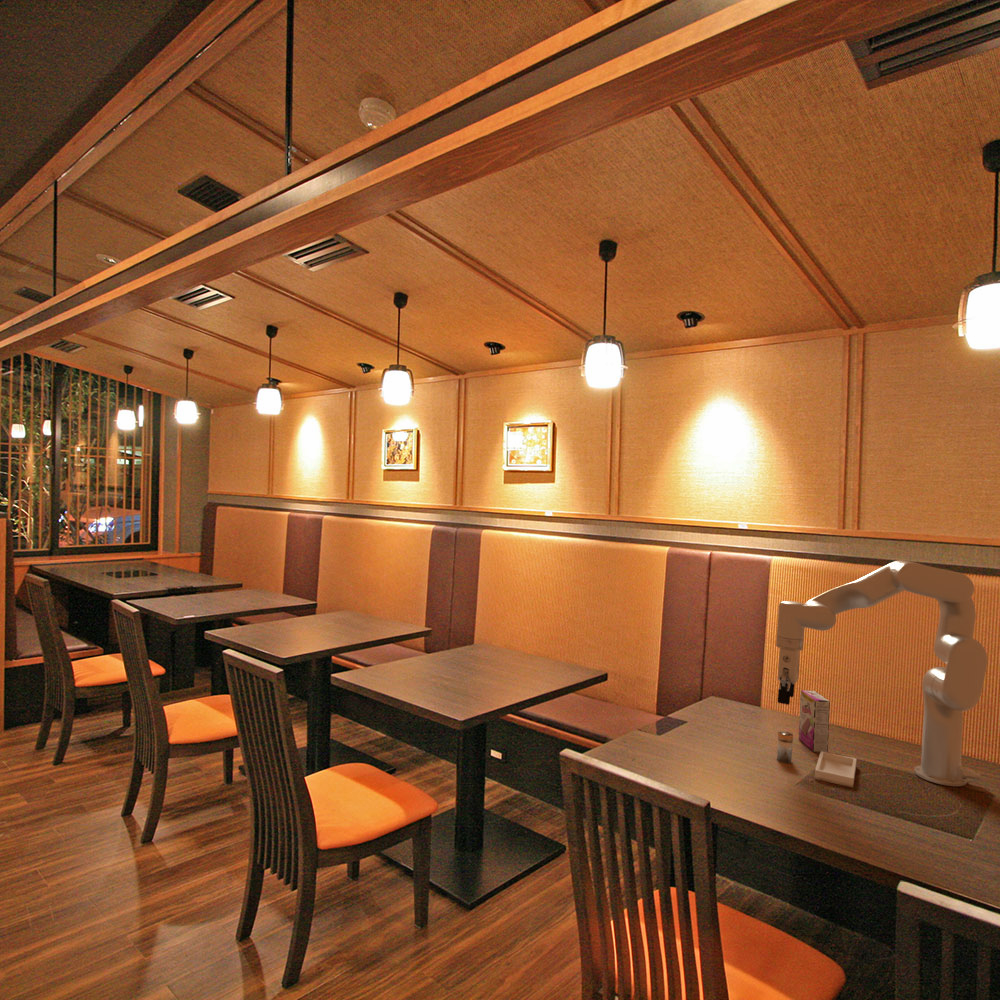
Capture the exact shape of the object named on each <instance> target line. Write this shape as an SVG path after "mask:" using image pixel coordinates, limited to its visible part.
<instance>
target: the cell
mask: <svg viewBox="0 0 1000 1000" xmlns="http://www.w3.org/2000/svg"><path fill="white" fill-rule="evenodd" d="M793 741H794V734H793V733H792V732H788V731H782V730H781V731H778V733H777V753H776V754H777V755H776V760H777V761H779V762H781V763H786V764H790V763H792V759H793Z"/></svg>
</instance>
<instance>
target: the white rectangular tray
mask: <svg viewBox="0 0 1000 1000" xmlns="http://www.w3.org/2000/svg"><path fill="white" fill-rule="evenodd" d="M856 770H857V758H855V757H851V756H847V755H841V754H836V753H833V752H832V753H831V752H829V751H828V752H823V751H821V752H819V756H818V759H817V762H816V766H815V769H814V779H815V780H818V781H823V782H826V783H827V782H828V783H831V784H835V785H840V786H844V787H849V788H854V784H855V777H856Z"/></svg>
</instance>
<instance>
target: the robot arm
mask: <svg viewBox="0 0 1000 1000" xmlns="http://www.w3.org/2000/svg"><path fill="white" fill-rule="evenodd" d="M905 591H906V592H909V593H912V594H915V595H919V596H923V597H927V598H930V599H931V598H932V599H936V601H937V603H938V606H939V618H938V619H939V621H938V626H937V631H936V634H935V639H934V643H933V644H934V645H933V652H934V655H935V656H936V658H937V659H939V661H941V662H943V663H945V664H946V667H945V666H936V667H932V668H929V669H928V670H927V671H926V672H925V673H924V675H923V677H922V696H923V719H922V720H923V721H922V737H921V738H922V739H921V740H922V741H921V742H922V743H921V760H920V765H917V766H914V774H915V775H917V776H918V777H920V778H921V779H923V780H925V781H928V782H930V783H934V784H938V785H942V786H948V787H963V786H966V785H967V781H968V780H967V778H968V779H970V780H971V779H972V780H974V781H981V773H978V772H975V770H971V769H966V768H964V767H963V765H962V749H963V747H962V745H963V744H962V743H963V727H964V712H967V711H969V710H972V709H974V708H975V707H976V706H977V704H978V703H979V701H980V699H981V696H982V691H983V687H984V682H985V678H986V673H987V667H988V654H987V651H986V649H985V647H984V646H983V644H982V643H981V642H980V641H978V640H977V639H975V638H974V632H975V627H976V626H975V625H976V617H977V614H976V612H977V611H976V607H975V603H974V601H973V598H972V596H973V595H974V592H975V585H974V582H973V581H972V579H971V578H970V577H969V576H967V575H966V574H964V573H962V572H957V571H953V570H949V569H946V568H945V569H943V568H938V567H934V566H930V565H926V564H922V563H919V562H915V561H910V560H905V559H898V560H894V561H892V562H889V563H888V564H885V565H884V566H881V567H879V568H878V569H876V570H873V571H872V572H870V573H868V574H866V575H864V576H861V577H860V578H858V579H856V580H854V581H851V582H849V583H845V584H843V585H840V586H837V587H834V588H832V589H829V590H827V591H825V592H822V593H821V594H818V595H817V596H815V597H813V598H811V599H809V600H807V601H806V602H805V603H802V602H799V601H793V600H783V601H781V602H779V605H778V614H777V627H776V641H775V646H776V648H778V649H779V655H778V665H777V666H778V667H777V668H778V669H777V679H778V682H779V686H778V691H777V703H779V704H783V705H790V703H791V702H790V701H791V698H794V696H795V684H797V682H798V680H799V677H800V660H801V659H800V656H801V655H800V653H801V651H803V650H804V643H805V642H804V641H805V630H806V629H807V628H808V629H812V630H816V631H821V632H823V631H824V632H825V631H829V630H831V629H833V628H834V626H835V625H836V623H837V616H836V615H838V614H840V613H844V612H847V611H849V610H854V609H855V610H857V609H867V608H871V607H874V606H876V605H878V604H880V603H881V602H884V601H886V600H888V599H889V598H892V597H894V596H896V595H898V594H900V593H903V592H905ZM805 628H806V629H805Z"/></svg>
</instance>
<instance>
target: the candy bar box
mask: <svg viewBox="0 0 1000 1000" xmlns="http://www.w3.org/2000/svg"><path fill="white" fill-rule="evenodd" d="M799 700H800V702H799V725H798V726H799V727H798V728H799V729H798V740H799V741H801V743H802V744H803V745H805V746H806V747H808V748H809V750H811V751H812V752H813V753H820V752H821V751H823V752H828V753H829V735H830V734H829V733H830V732H829V731H830V712H831V711H830V709H831V708H830V707H831V700H829V699H828V698H826V697H824V696H823V695H822V694H820V693H818V692H817V691H816V690H806V689H805V690H804V689H802V690H800V699H799Z"/></svg>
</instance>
